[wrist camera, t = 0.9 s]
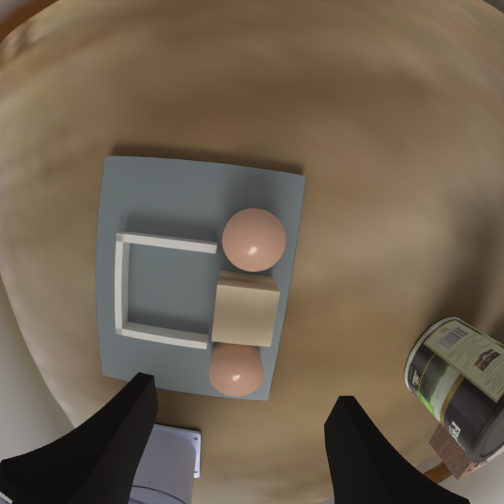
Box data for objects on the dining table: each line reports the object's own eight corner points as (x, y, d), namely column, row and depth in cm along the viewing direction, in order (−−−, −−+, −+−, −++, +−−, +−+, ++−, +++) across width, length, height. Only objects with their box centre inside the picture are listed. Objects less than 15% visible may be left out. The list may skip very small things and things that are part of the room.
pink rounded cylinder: (256, 374, 23) (259, 398, 20) (210, 369, 23) (207, 393, 19) (262, 334, 23) (267, 355, 19) (214, 329, 22) (210, 350, 19)
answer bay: (208, 340, 22) (206, 349, 21) (122, 326, 22) (115, 333, 20) (218, 242, 21) (216, 245, 20) (123, 231, 21) (116, 232, 19)
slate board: (266, 394, 25) (267, 400, 24) (106, 370, 24) (102, 375, 23) (302, 177, 22) (306, 175, 21) (110, 157, 21) (105, 155, 20)
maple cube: (264, 323, 22) (270, 346, 19) (215, 318, 22) (211, 341, 18) (272, 276, 22) (280, 291, 18) (220, 270, 22) (217, 284, 18)
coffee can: (426, 402, 27) (484, 468, 13) (388, 373, 25) (460, 457, 12) (476, 341, 26) (547, 388, 12) (448, 298, 25) (544, 348, 11)
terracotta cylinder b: (274, 263, 22) (281, 275, 18) (221, 257, 21) (218, 267, 18) (281, 211, 21) (290, 212, 18) (228, 204, 21) (226, 204, 17)
